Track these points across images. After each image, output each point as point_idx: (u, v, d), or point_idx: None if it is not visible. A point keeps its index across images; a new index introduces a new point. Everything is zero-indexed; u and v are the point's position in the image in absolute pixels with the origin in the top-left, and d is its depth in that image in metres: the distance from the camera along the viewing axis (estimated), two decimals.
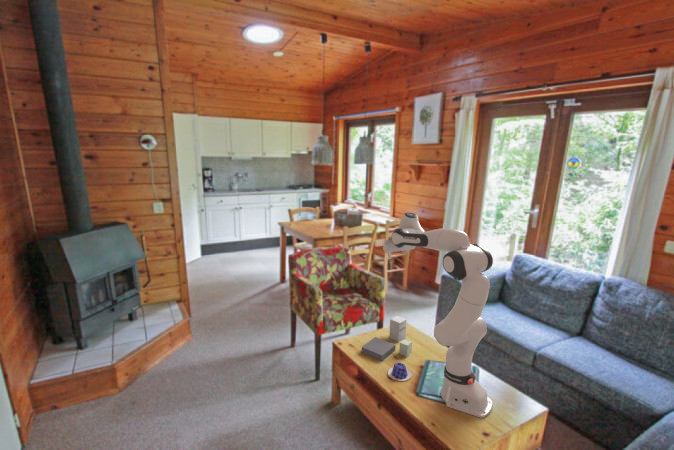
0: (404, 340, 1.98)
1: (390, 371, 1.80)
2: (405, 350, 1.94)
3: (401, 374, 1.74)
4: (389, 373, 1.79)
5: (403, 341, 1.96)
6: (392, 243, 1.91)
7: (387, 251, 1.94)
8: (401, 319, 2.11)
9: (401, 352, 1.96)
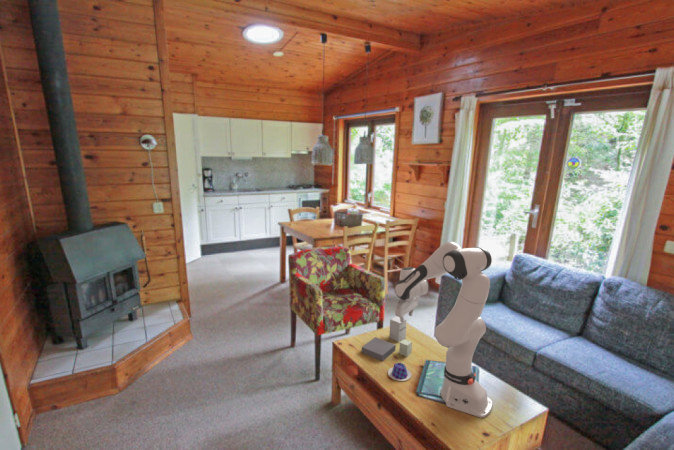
0: (404, 340, 1.98)
1: (390, 371, 1.80)
2: (405, 350, 1.94)
3: (401, 374, 1.74)
4: (389, 373, 1.79)
5: (403, 341, 1.96)
6: (403, 304, 1.84)
7: (401, 315, 1.84)
8: None
9: (401, 352, 1.96)
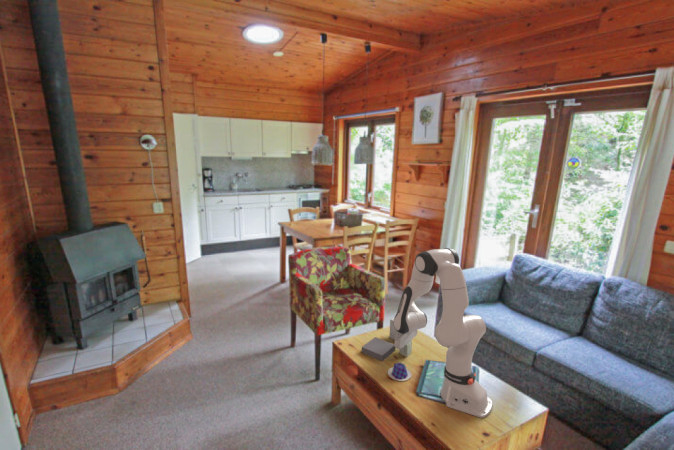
0: None
1: (390, 371, 1.81)
2: (405, 350, 1.94)
3: (400, 374, 1.74)
4: (389, 373, 1.79)
5: None
6: (402, 336, 1.88)
7: (401, 347, 1.88)
8: None
9: (401, 352, 1.96)
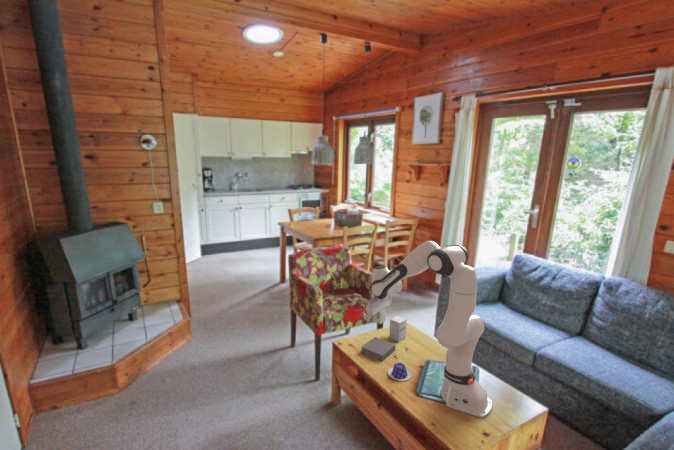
0: None
1: (391, 370, 1.81)
2: (378, 317, 1.92)
3: (400, 374, 1.74)
4: (389, 372, 1.80)
5: None
6: (375, 302, 1.86)
7: (373, 313, 1.86)
8: (401, 319, 2.11)
9: (374, 320, 1.94)
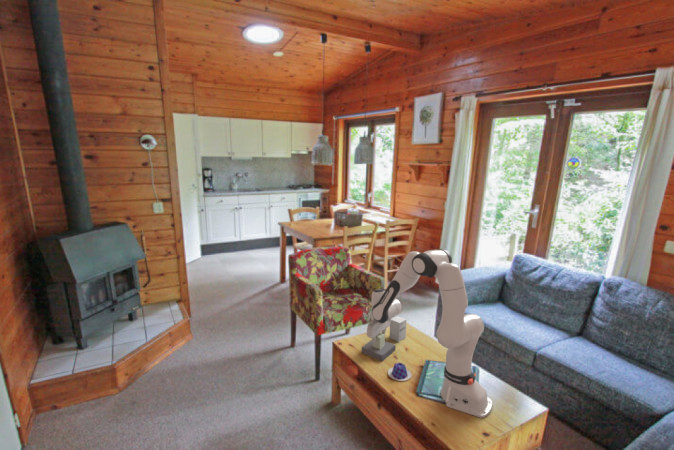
0: None
1: (391, 370, 1.82)
2: (378, 342, 1.95)
3: (399, 373, 1.75)
4: (389, 371, 1.80)
5: None
6: (374, 325, 1.89)
7: (373, 336, 1.89)
8: (401, 319, 2.11)
9: (374, 345, 1.97)
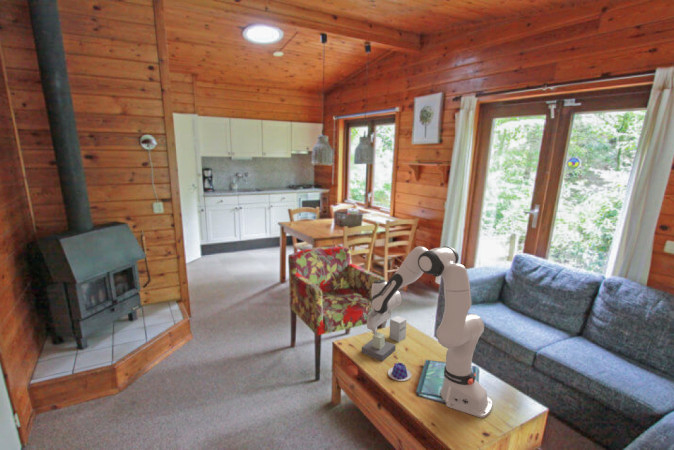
0: (377, 333, 1.99)
1: (391, 369, 1.82)
2: (378, 342, 1.95)
3: (399, 373, 1.75)
4: (389, 371, 1.80)
5: (376, 334, 1.98)
6: (374, 316, 1.88)
7: (373, 327, 1.88)
8: (401, 319, 2.11)
9: (374, 345, 1.97)
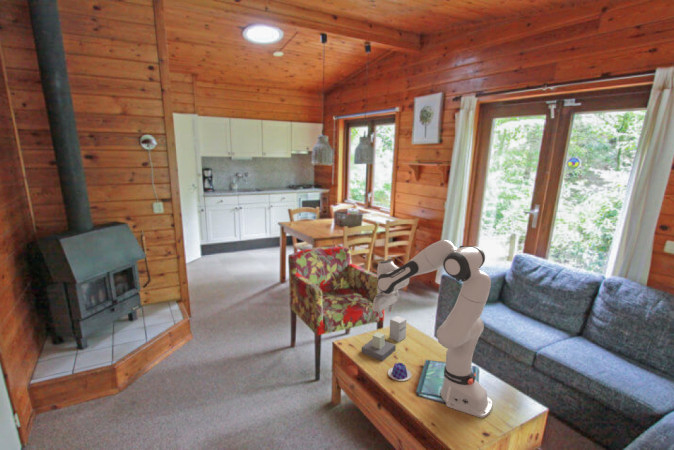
0: (377, 333, 1.99)
1: (392, 369, 1.82)
2: (378, 342, 1.95)
3: (398, 373, 1.75)
4: (389, 371, 1.80)
5: (376, 334, 1.98)
6: (381, 298, 1.79)
7: (379, 309, 1.79)
8: (401, 319, 2.11)
9: (374, 345, 1.97)
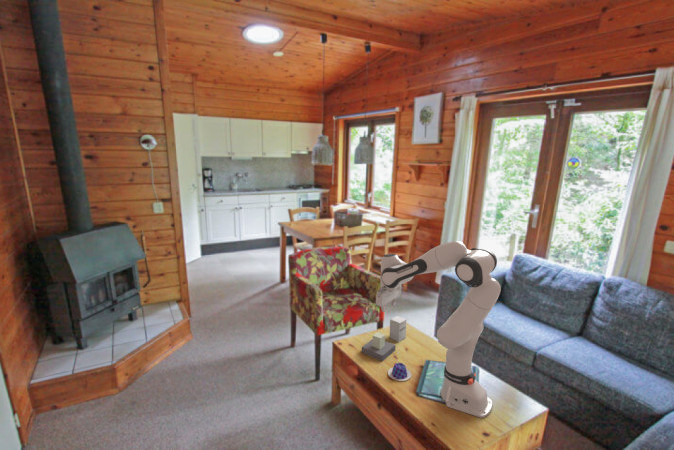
0: (377, 333, 1.98)
1: (392, 369, 1.82)
2: (378, 342, 1.95)
3: (398, 373, 1.75)
4: (389, 371, 1.81)
5: (376, 334, 1.97)
6: (384, 292, 1.75)
7: (382, 304, 1.75)
8: (401, 319, 2.11)
9: (374, 345, 1.97)
